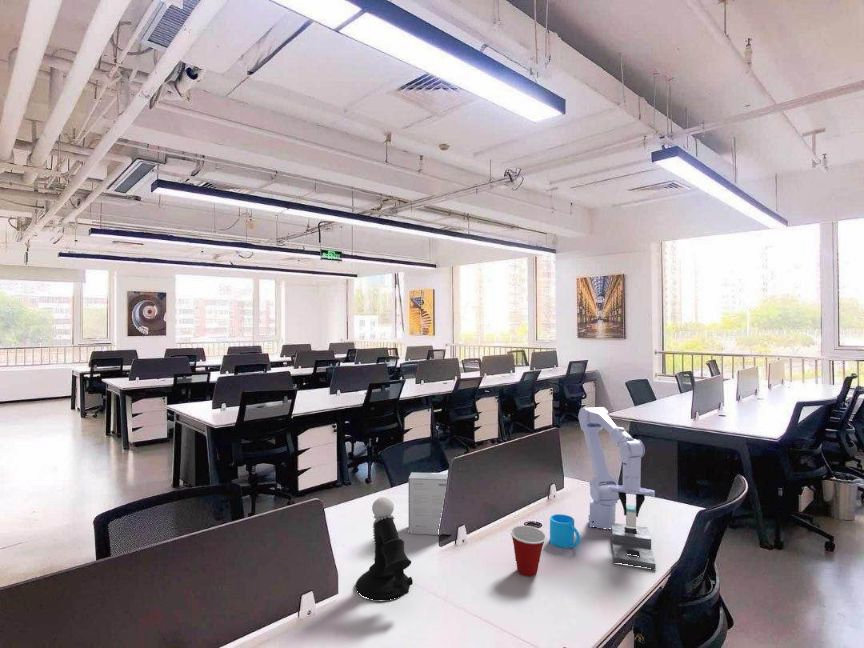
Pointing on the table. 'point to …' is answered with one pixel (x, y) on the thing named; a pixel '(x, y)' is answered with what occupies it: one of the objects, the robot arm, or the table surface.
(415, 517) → the hard drive box
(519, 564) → the plastic cup
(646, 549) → the patch panel
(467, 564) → the table surface
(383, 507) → the sculpture
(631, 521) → the plug
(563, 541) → the mug
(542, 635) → the table surface
